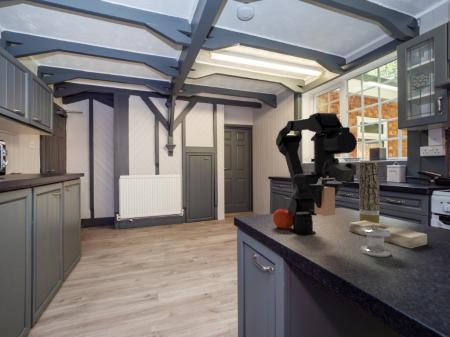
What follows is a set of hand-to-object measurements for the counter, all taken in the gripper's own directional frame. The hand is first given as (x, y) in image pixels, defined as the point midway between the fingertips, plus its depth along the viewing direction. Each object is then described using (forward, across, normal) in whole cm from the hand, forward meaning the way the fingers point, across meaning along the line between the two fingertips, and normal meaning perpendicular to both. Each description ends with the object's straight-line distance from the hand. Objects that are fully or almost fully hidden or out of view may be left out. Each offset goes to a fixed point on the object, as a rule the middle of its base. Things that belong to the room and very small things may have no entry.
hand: (324, 207), depth 74 cm
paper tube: (+11, +35, +11) cm, 38 cm away
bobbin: (+11, +7, -11) cm, 17 cm away
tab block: (+2, 0, 0) cm, 2 cm away
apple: (+11, +1, +21) cm, 24 cm away
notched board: (+11, +23, -3) cm, 26 cm away
